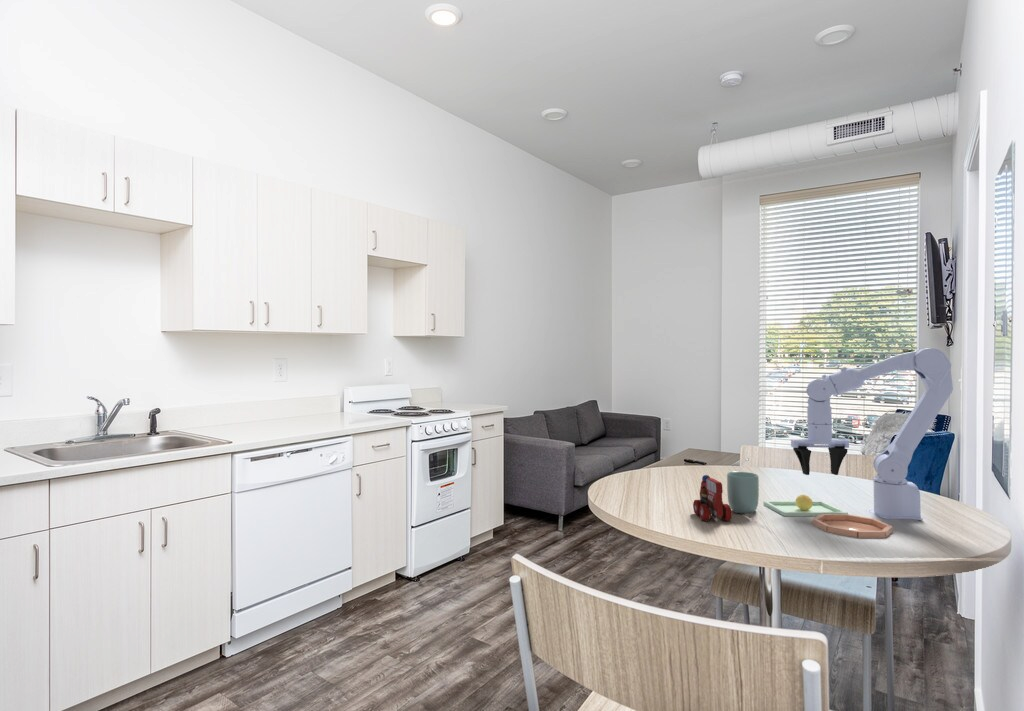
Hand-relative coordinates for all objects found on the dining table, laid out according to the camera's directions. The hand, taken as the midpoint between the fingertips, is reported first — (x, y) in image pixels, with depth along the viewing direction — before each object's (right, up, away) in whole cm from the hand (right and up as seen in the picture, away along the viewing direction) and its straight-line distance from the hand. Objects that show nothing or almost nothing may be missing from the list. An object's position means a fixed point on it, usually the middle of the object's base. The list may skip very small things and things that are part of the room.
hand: (820, 474), depth 149 cm
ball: (-6, -9, -3) cm, 11 cm away
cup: (-22, -10, -3) cm, 24 cm away
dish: (-3, -9, -19) cm, 21 cm away
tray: (-6, -9, -3) cm, 12 cm away
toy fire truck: (-32, -10, -8) cm, 34 cm away
